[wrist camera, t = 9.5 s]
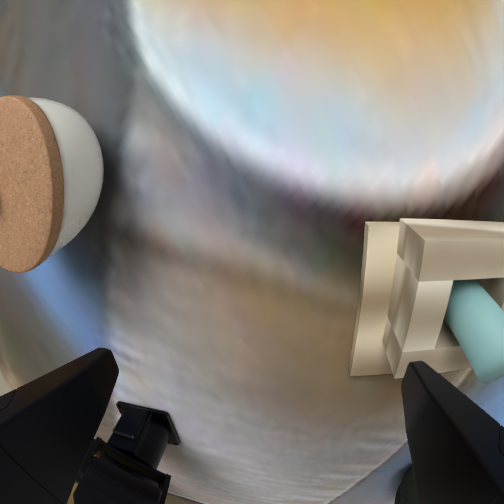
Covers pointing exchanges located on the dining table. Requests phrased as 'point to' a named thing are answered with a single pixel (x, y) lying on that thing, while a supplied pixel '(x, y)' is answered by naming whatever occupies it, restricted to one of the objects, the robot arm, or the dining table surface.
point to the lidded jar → (44, 179)
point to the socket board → (420, 291)
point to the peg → (477, 328)
